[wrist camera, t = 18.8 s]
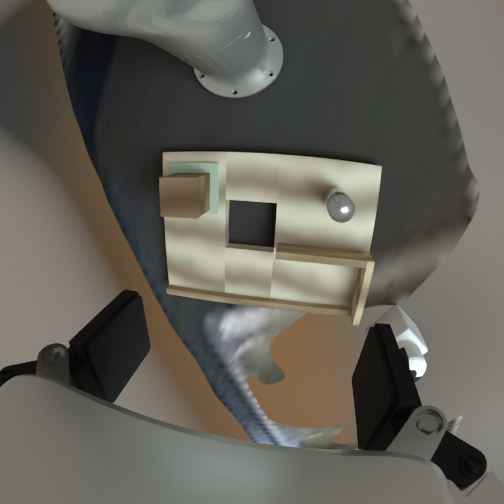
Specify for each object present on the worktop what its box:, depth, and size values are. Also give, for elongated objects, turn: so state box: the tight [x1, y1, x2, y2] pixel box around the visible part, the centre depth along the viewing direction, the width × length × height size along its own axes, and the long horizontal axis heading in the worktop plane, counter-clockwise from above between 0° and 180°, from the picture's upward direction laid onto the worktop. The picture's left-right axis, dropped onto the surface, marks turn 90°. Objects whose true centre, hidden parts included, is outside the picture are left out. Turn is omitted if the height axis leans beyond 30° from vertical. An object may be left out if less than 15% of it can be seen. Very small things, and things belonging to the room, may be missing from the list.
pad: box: [170, 163, 219, 214], centre depth 38 cm, size 7×7×1 cm
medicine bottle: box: [366, 305, 428, 382], centre depth 38 cm, size 7×7×12 cm
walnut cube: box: [159, 173, 210, 219], centre depth 35 cm, size 5×5×5 cm
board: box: [163, 151, 382, 325], centre depth 38 cm, size 22×30×6 cm
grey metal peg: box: [323, 186, 355, 223], centre depth 32 cm, size 3×3×7 cm
